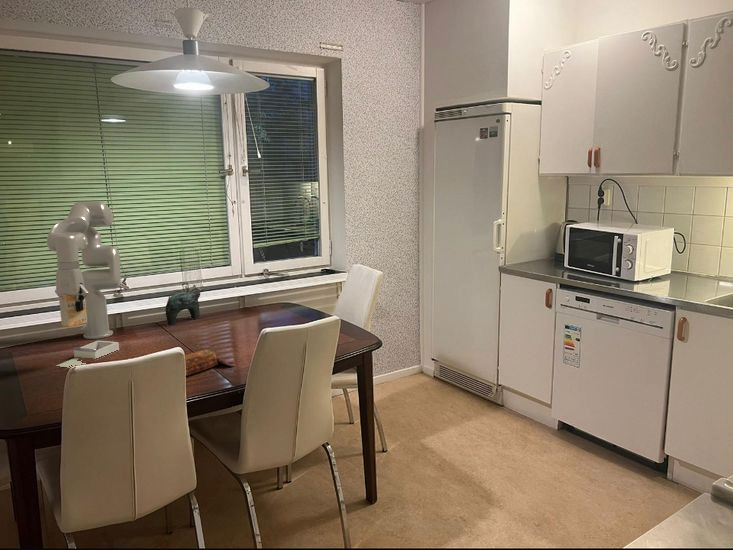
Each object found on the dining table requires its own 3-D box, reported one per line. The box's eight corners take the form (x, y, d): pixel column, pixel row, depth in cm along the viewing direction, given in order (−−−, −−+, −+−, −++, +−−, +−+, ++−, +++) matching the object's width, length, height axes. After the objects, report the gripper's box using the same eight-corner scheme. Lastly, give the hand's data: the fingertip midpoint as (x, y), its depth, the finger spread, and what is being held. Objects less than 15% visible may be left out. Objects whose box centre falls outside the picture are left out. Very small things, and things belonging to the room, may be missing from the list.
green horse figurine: (197, 316, 299) (194, 279, 295) (204, 318, 295) (202, 281, 291) (164, 324, 283) (161, 286, 279) (172, 326, 279) (169, 287, 275)
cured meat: (240, 365, 222) (239, 348, 221) (185, 384, 203) (184, 366, 202) (213, 357, 233) (211, 341, 232) (158, 374, 214) (157, 357, 213)
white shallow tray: (74, 358, 232) (73, 347, 232) (98, 348, 245) (97, 338, 245) (95, 360, 229) (94, 349, 229) (119, 350, 242) (118, 340, 242)
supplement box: (68, 327, 219) (64, 295, 217) (61, 326, 222) (57, 294, 219) (88, 323, 226) (84, 291, 224) (81, 321, 229) (77, 290, 226)
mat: (55, 367, 222) (55, 365, 222) (75, 359, 231) (74, 357, 231) (75, 369, 219) (75, 368, 219) (94, 361, 228) (94, 360, 228)
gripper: (43, 266, 219) (48, 311, 222) (79, 268, 214) (84, 313, 217) (58, 263, 226) (63, 307, 229) (93, 265, 221) (98, 309, 224)
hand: (73, 310), depth 223 cm, fingers closed on supplement box, 5 cm apart
